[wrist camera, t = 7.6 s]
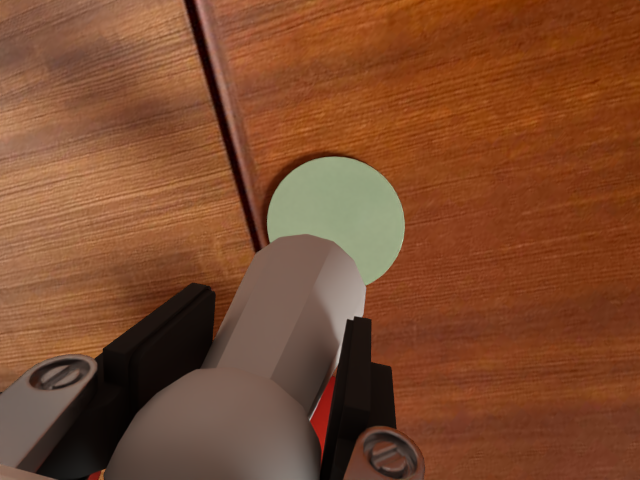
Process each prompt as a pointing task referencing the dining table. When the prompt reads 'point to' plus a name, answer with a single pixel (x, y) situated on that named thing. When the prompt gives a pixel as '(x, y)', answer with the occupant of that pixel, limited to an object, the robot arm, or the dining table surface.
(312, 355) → the salt shaker
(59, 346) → the dining table surface
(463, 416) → the dining table surface
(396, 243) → the coaster
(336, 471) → the robot arm
